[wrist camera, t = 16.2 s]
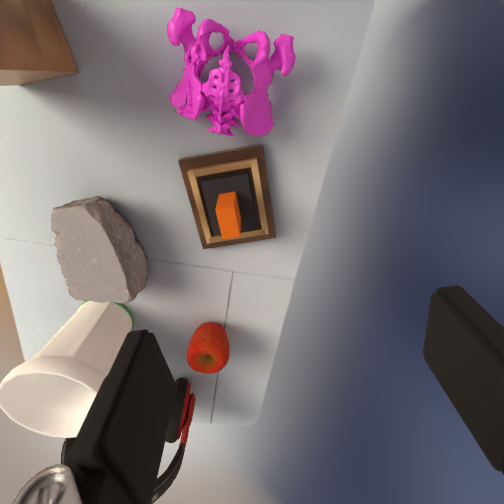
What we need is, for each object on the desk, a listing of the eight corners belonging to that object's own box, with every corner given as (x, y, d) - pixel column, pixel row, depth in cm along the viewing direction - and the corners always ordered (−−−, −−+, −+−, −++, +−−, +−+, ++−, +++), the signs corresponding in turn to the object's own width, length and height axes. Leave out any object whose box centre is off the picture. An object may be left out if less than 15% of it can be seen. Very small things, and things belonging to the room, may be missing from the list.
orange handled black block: (202, 179, 37) (194, 196, 31) (247, 171, 37) (248, 187, 31) (215, 230, 41) (210, 255, 35) (257, 224, 40) (259, 247, 34)
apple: (224, 309, 49) (220, 345, 42) (235, 337, 51) (234, 374, 45) (186, 318, 49) (177, 354, 43) (200, 345, 52) (193, 382, 46)
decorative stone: (114, 291, 47) (170, 270, 45) (92, 322, 41) (156, 300, 39) (47, 207, 40) (109, 177, 38) (9, 229, 34) (81, 196, 32)
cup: (150, 347, 52) (118, 438, 39) (76, 346, 52) (17, 438, 39) (140, 287, 46) (96, 371, 33) (55, 285, 46) (-23, 370, 32)
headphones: (99, 389, 57) (34, 524, 40) (99, 352, 53) (26, 487, 35) (192, 402, 60) (170, 536, 42) (201, 367, 55) (180, 502, 38)
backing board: (180, 158, 37) (176, 162, 35) (262, 143, 36) (263, 147, 34) (204, 245, 43) (202, 252, 41) (275, 233, 42) (276, 241, 40)
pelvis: (170, 117, 35) (155, 125, 29) (177, 14, 30) (160, -2, 25) (273, 138, 36) (279, 150, 30) (295, 42, 32) (305, 34, 26)
